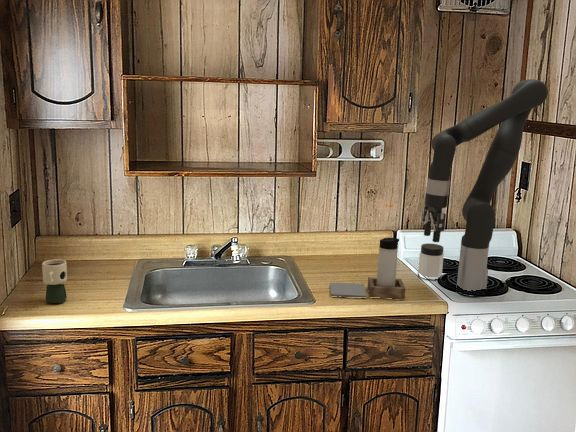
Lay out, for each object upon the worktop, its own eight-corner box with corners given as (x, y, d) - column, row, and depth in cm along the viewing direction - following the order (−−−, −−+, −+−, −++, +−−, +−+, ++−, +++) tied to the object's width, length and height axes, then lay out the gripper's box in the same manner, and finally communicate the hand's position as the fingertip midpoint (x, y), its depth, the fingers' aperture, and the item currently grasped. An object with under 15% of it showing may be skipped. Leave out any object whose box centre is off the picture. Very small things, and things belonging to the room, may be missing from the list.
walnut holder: (400, 289, 212) (401, 278, 211) (404, 300, 201) (405, 288, 200) (367, 287, 212) (368, 277, 211) (370, 298, 202) (371, 287, 201)
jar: (446, 279, 225) (449, 248, 222) (429, 281, 221) (432, 250, 218) (429, 272, 232) (432, 242, 230) (413, 274, 228) (416, 244, 226)
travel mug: (389, 298, 202) (394, 241, 198) (372, 294, 206) (376, 237, 202) (398, 293, 207) (402, 237, 203) (381, 289, 211) (385, 234, 207)
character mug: (63, 308, 185) (61, 267, 182) (39, 308, 184) (36, 267, 181) (72, 295, 195) (70, 257, 192) (49, 295, 195) (47, 257, 192)
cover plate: (363, 287, 213) (363, 283, 212) (366, 299, 201) (366, 295, 201) (329, 285, 213) (330, 282, 213) (330, 297, 201) (330, 294, 201)
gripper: (456, 197, 197) (449, 244, 201) (439, 189, 211) (434, 233, 215) (434, 196, 196) (428, 243, 200) (419, 188, 210) (413, 233, 213)
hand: (431, 238), depth 207 cm, fingers open, 8 cm apart
